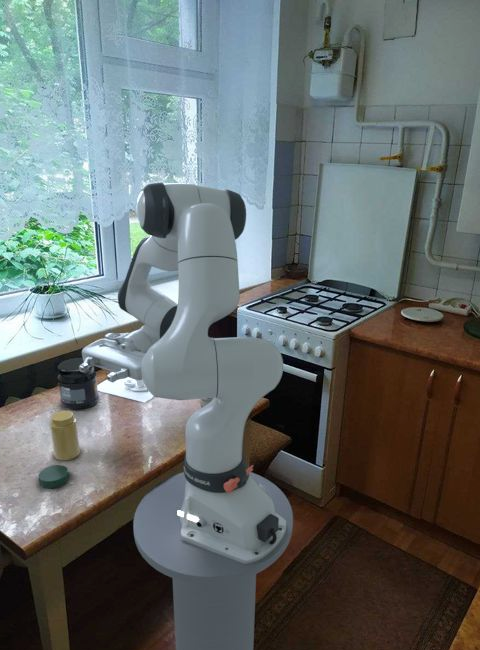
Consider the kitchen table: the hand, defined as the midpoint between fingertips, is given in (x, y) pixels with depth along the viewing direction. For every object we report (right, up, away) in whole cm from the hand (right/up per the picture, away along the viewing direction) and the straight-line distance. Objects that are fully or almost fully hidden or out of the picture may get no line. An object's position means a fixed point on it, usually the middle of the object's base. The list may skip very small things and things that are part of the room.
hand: (95, 374), depth 121 cm
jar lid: (-6, -22, -11) cm, 25 cm away
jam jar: (-7, -19, 0) cm, 20 cm away
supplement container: (-12, -9, +24) cm, 29 cm away
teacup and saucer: (+1, -5, +37) cm, 37 cm away
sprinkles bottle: (+26, -13, +20) cm, 35 cm away
